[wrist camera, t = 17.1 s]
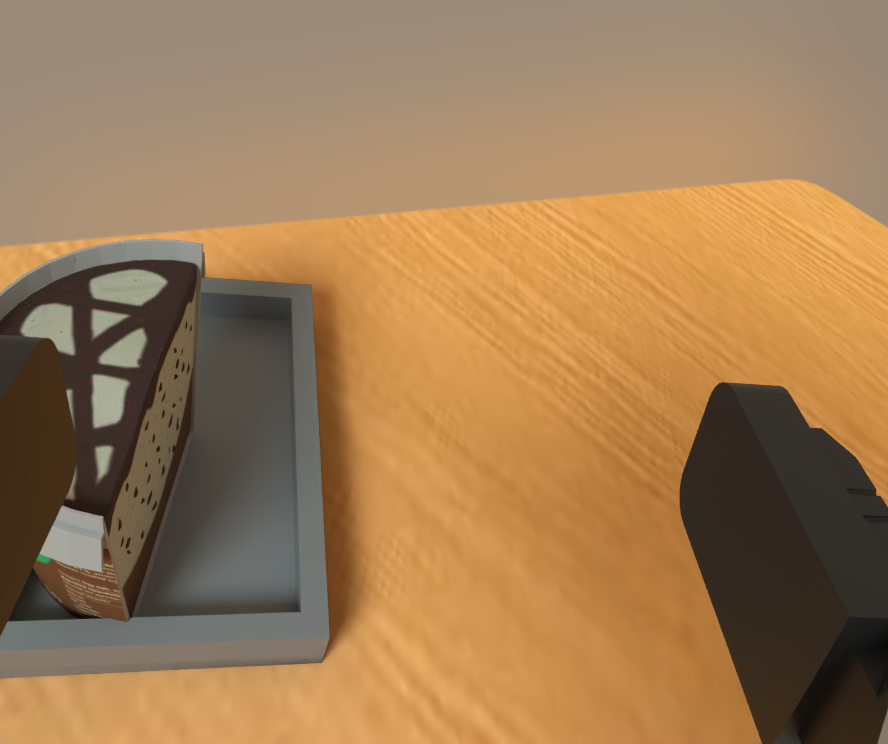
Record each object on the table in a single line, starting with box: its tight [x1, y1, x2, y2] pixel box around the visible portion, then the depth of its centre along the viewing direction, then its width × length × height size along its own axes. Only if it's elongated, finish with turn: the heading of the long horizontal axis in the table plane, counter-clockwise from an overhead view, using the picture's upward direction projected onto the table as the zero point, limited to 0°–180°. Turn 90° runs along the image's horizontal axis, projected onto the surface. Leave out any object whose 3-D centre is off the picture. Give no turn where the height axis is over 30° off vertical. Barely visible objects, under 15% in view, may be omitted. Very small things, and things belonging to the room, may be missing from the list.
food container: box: [0, 239, 206, 622], centre depth 29 cm, size 12×6×10 cm, turn 177°
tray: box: [0, 278, 330, 678], centre depth 35 cm, size 12×18×2 cm, turn 8°
